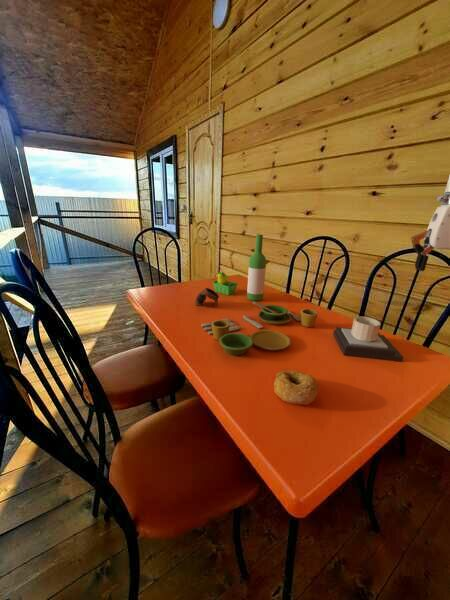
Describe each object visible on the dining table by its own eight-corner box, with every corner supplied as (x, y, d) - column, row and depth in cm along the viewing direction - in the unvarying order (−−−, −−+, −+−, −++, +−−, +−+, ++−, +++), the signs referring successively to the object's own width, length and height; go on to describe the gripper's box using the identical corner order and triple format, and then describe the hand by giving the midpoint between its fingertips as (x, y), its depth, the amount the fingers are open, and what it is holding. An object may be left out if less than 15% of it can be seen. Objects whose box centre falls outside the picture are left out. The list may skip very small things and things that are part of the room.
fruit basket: (238, 293, 130) (239, 271, 126) (227, 297, 123) (228, 274, 119) (220, 288, 136) (221, 267, 132) (210, 292, 130) (210, 270, 126)
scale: (382, 339, 86) (384, 331, 85) (402, 361, 73) (405, 352, 72) (332, 334, 88) (334, 326, 87) (343, 355, 75) (345, 346, 74)
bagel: (307, 377, 65) (309, 361, 63) (324, 409, 54) (328, 391, 53) (268, 377, 64) (270, 361, 63) (278, 409, 54) (281, 391, 52)
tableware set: (285, 309, 109) (287, 295, 107) (338, 337, 86) (341, 320, 84) (195, 325, 92) (195, 308, 90) (230, 365, 69) (231, 345, 66)
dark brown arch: (199, 300, 118) (208, 286, 116) (214, 312, 116) (224, 298, 114) (186, 301, 107) (196, 285, 105) (202, 315, 105) (213, 299, 103)
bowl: (371, 333, 83) (375, 317, 81) (380, 343, 76) (384, 327, 74) (348, 330, 84) (351, 315, 82) (354, 341, 77) (358, 324, 75)
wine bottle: (252, 302, 117) (257, 235, 107) (243, 297, 123) (247, 233, 113) (266, 300, 120) (272, 235, 110) (256, 295, 127) (261, 233, 117)
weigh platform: (373, 335, 84) (374, 331, 84) (386, 351, 75) (388, 347, 74) (340, 332, 86) (341, 328, 85) (349, 347, 76) (350, 343, 76)
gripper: (431, 199, 59) (410, 272, 64) (517, 201, 56) (488, 276, 62) (414, 200, 66) (397, 266, 71) (490, 202, 63) (466, 270, 69)
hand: (439, 271), depth 66 cm, fingers open, 9 cm apart
